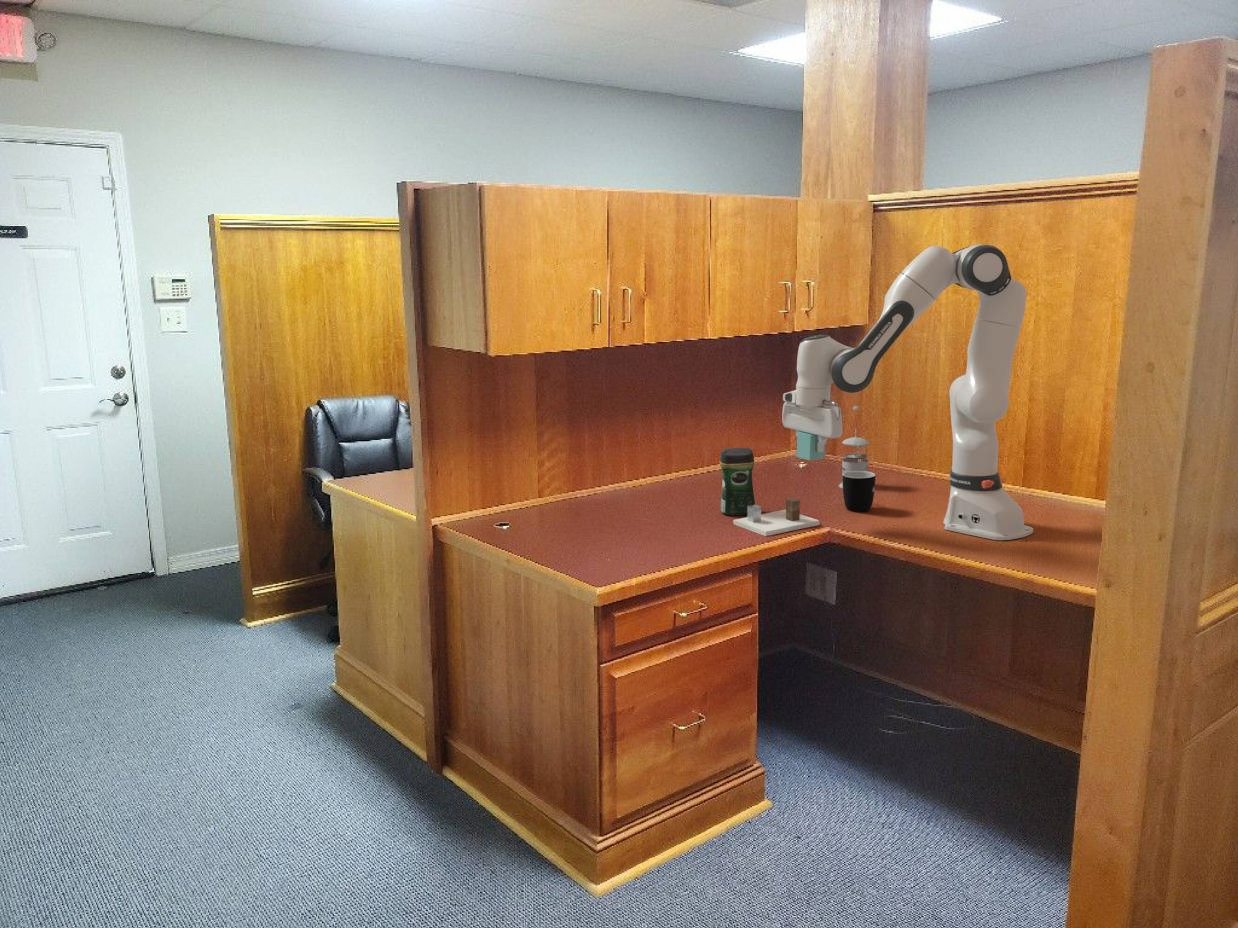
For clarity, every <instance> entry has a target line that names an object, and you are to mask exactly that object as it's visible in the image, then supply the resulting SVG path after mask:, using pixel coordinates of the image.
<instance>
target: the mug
mask: <svg viewBox="0 0 1238 928" xmlns="http://www.w3.org/2000/svg"><path fill="white" fill-rule="evenodd" d="M841 479H842V480H841V483H843V488H842V495H843V496H842V497H843V501H844V506H845V508H846V510H847V511H849V512H853V513H854V512H855V513H865V512H869V511H870V510H871V508H872V505H873V503H874V499H875V498H874V496H875V489H876V488H875V487H876V474H875V473H874V472H871V471H868V472H867V471H861V470H858V471H849V472H845V473H843V476H842V475H841Z"/></svg>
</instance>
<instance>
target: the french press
mask: <svg viewBox="0 0 1238 928" xmlns="http://www.w3.org/2000/svg"><path fill="white" fill-rule="evenodd" d="M852 410H853V411H855V413H857V411H860V407H859V406H858V405H854V407H853V408H852ZM854 432H855V433H854V434H855V435H854V437H848V438H846V439H844V440H843V441H842V442H841V444H843V445H844V446H847V447H854V452H852V453H851V452H849V453H845V454H844V455H843V457H844V458H843V459H842V461H841V464H842V465H841V466H842V468H841V469H842V470H841V471H842V473H841V477H842V476H843V473H845V472H849V471H867V472H869V470H868V469H869V460H868V459H867V458H868V455H867V450H866V446H868V445H870V442H869V441H868V440H867V439H865V438H862V437H858V436H857V429H855V431H854ZM863 448H864V453H862V452H861V450H863ZM857 449H858V450H859V452H857ZM838 487H839V488H840V489H843V483H842V482H841V483H840V484H839V485H838Z"/></svg>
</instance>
